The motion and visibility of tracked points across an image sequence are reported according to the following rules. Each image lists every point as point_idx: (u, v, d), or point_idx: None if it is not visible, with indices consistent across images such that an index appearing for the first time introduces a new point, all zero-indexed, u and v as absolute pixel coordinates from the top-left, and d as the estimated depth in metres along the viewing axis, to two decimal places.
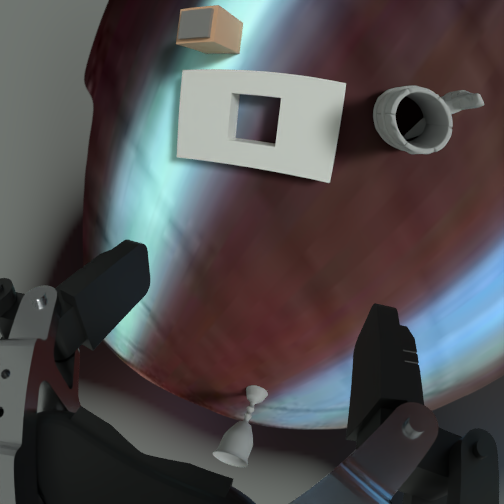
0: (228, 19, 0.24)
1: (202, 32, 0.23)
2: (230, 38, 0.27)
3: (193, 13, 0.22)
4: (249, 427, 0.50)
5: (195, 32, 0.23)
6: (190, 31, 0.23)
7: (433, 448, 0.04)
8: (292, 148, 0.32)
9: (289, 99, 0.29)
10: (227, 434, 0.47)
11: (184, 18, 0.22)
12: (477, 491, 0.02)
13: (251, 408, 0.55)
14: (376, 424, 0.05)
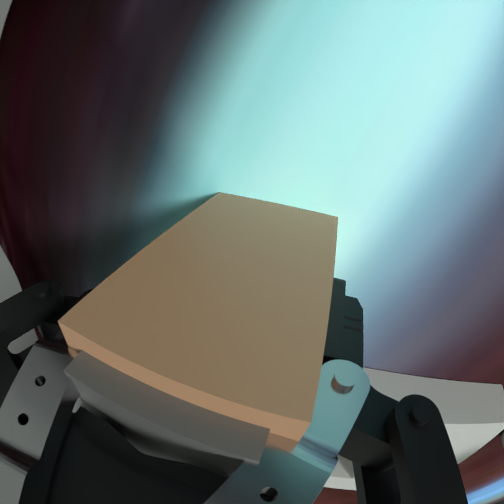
0: None
1: None
2: None
3: (137, 424, 0.04)
4: None
5: None
6: None
7: (368, 410, 0.05)
8: None
9: None
10: None
11: (99, 412, 0.04)
12: (427, 459, 0.03)
13: None
14: None
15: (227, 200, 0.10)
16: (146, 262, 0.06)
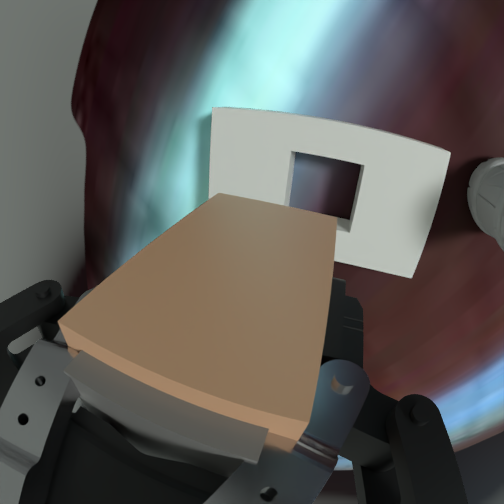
0: None
1: None
2: None
3: (136, 424, 0.04)
4: None
5: None
6: None
7: (368, 410, 0.05)
8: (372, 236, 0.23)
9: (375, 168, 0.21)
10: None
11: (99, 412, 0.04)
12: (427, 459, 0.03)
13: None
14: None
15: (226, 200, 0.10)
16: (146, 263, 0.06)
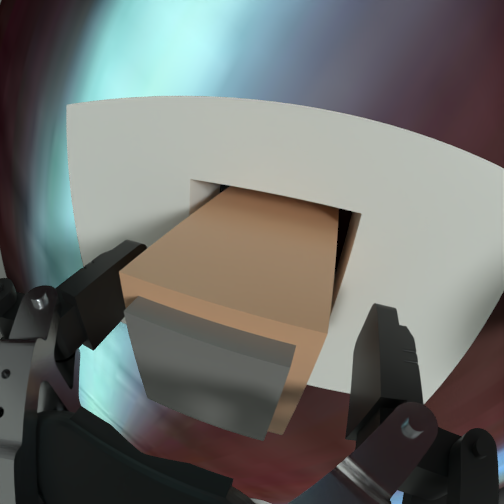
0: None
1: (242, 426, 0.07)
2: None
3: (187, 351, 0.06)
4: None
5: (212, 416, 0.07)
6: (190, 404, 0.07)
7: (433, 448, 0.04)
8: None
9: (388, 222, 0.09)
10: None
11: (149, 351, 0.06)
12: (477, 491, 0.02)
13: None
14: (376, 424, 0.05)
15: None
16: (187, 231, 0.08)
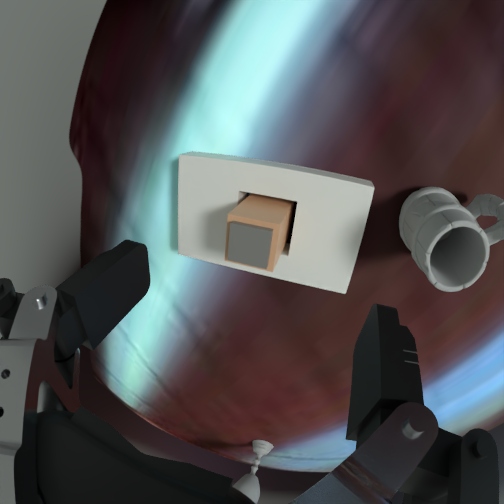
0: (285, 222, 0.27)
1: (259, 262, 0.25)
2: (284, 239, 0.29)
3: (247, 231, 0.24)
4: (256, 479, 0.47)
5: (250, 259, 0.25)
6: (244, 256, 0.25)
7: (433, 448, 0.04)
8: (307, 258, 0.30)
9: (307, 204, 0.27)
10: (236, 487, 0.44)
11: (235, 235, 0.25)
12: (477, 491, 0.02)
13: (258, 461, 0.51)
14: (376, 424, 0.05)
15: (257, 194, 0.31)
16: (241, 206, 0.27)
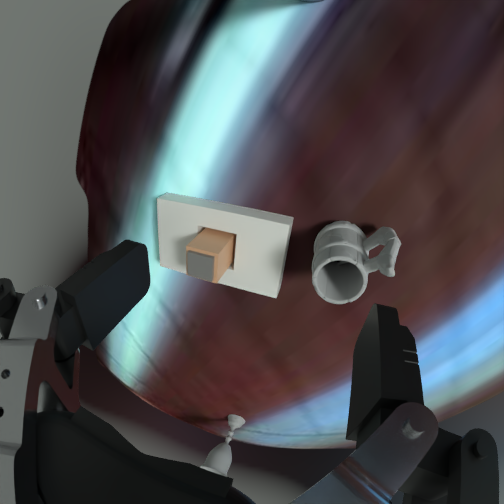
0: (226, 249, 0.40)
1: (207, 277, 0.38)
2: (229, 259, 0.42)
3: (197, 258, 0.37)
4: (229, 448, 0.61)
5: (201, 275, 0.38)
6: (197, 272, 0.38)
7: (433, 448, 0.04)
8: (246, 272, 0.43)
9: (243, 236, 0.40)
10: (211, 453, 0.58)
11: (190, 259, 0.37)
12: (477, 491, 0.02)
13: (231, 432, 0.66)
14: (376, 424, 0.05)
15: None
16: (197, 238, 0.39)
